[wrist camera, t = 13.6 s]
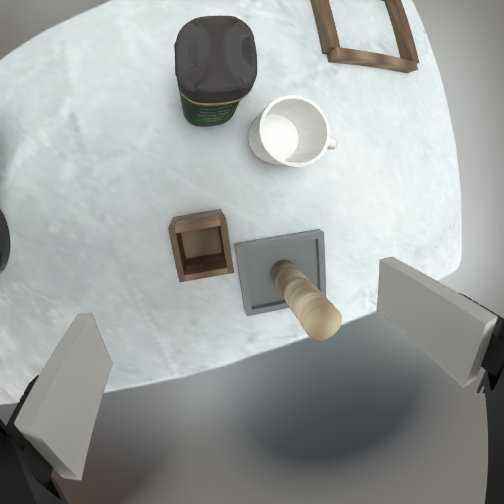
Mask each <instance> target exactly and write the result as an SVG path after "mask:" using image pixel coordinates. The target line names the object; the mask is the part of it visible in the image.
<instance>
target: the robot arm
mask: <svg viewBox="0 0 504 504" xmlns="http://www.w3.org/2000/svg"><path fill="white" fill-rule="evenodd" d="M9 251H10V238H9V231H8V227H7V223H6V220H5V218H4V216H3V214H2V212H1V210H0V272H1V271H2V270H3V269H4V267H5V265H6V263H7V261H8V257H9ZM377 311H378V312H379V313H380V314H381V315H383V316H384V317H385V318H386V319H387V320H388V321H389V322H391V323H392V324H393V325H394V326H395V327H396V328H398V329H399V330H400V331H401V332H402V333H404V334H405V335H406V336H407V337H408V338H409V339H410V340H412V342H414V343H415V344H416V345H417V346H418V347H419V348H420V349H422V350H423V351H424V352H425V353H426V354H427V355H428V356H429V357H431V358H432V359H433V360H434V361H435V362H436V363H437V364H438V365H439V366H441V367H442V368H443V369H444V370H445V371H446V372H447V373H448V374H449V375H450V376H451V377H453V378H454V379H455V380H456V381H457V382H458V383H459V384H460V385H461V386H462V387H465V386H466V385H468V384H470V383H471V382H472V381H474V380H475V379H476V377H477V375H478V372H479V370H480V368H481V367H483V368H484V369H485V373H484V375H483V378H482V380H481V382H480V385H479V387H478V389H477V393H479V392H480V390H481V388H482V386H484V390H483V393H485V397H486V407H487V421H488V475H487V489H486V499H485V504H504V319H503V318H502V317H500V316H498V315H497V314H495V313H493V312H492V311H490V310H489V309H487V308H485V307H484V306H482V305H479V304H478V303H477V302H475V301H472V299H470V298H469V297H467V296H465V295H463V294H460V293H457V292H456V291H454V290H452V289H450V288H449V287H447V286H445V285H443V284H441V283H440V282H438V281H436V280H435V279H433V278H431V277H429V276H427V275H425V274H424V273H422V272H420V271H418V270H416V269H414V268H413V267H411V266H409V265H407V264H405V263H403V262H401V261H399V260H397V259H396V258H394V257H388V258H384V259H380V261H379V285H378V300H377ZM112 364H113V363H112V360H111V358H110V356H109V354H108V351H107V349H106V347H105V344H104V342H103V340H102V337H101V335H100V332H99V330H98V327H97V324H96V322H95V319H94V317H93V314H92V313H86V314H78V315H77V316H76V318H75V319H74V321H73V322H72V324H71V325H70V327H69V328H68V330H67V331H66V333H65V334H64V336H63V337H62V339H61V341H60V342H59V344H58V345H57V347H56V348H55V350H54V352H53V353H52V355H51V357H50V358H49V360H48V362H47V363H46V365H45V367H44V368H43V370H42V372H41V373H40V375H37V376H36V377H35V378H34V379H33V380H32V381H31V382H30V383H29V385H28V386H27V388H26V390H25V392H24V395H22V397H21V399H20V402H19V403H18V404H17V406H16V408H15V410H14V412H13V414H12V416H11V418H10V420H9V422H8V424H7V426H6V425H5V424H4V423H3V422H2V420H1V419H0V504H69V503H68V501H67V499H66V498H65V496H64V494H63V492H62V491H61V489H60V487H59V485H58V483H57V482H56V480H55V479H54V478H53V477H52V476H51V474H52V470H53V469H55V470H56V471H57V472H58V473H59V474H60V475H61V476H62V477H63V478H69V479H75V480H81V477H82V473H83V468H84V464H85V459H86V454H87V451H88V447H89V442H90V438H91V435H92V431H93V427H94V423H95V419H96V416H97V412H98V409H99V405H100V402H101V399H102V395H103V392H104V389H105V386H106V382H107V379H108V376H109V373H110V370H111V367H112Z"/></svg>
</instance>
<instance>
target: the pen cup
mask: <svg viewBox="0 0 504 504" xmlns="http://www.w3.org/2000/svg"><path fill="white" fill-rule="evenodd" d="M168 229H169V234H170V239H171V244H172V249H173V254H174V259H175V264H176V268H177V273H178V277H179V282H184V281H189V280H195V279H201V278H207V277H212V276H218V275H224V274H229V273H234V269H233V263H232V256H231V250H230V243H229V236H228V230H227V223H226V218H225V216H224V214H223V212H222V211H221V209H219V210H213V211H207V212H201V213H195V214H190V215H184V216H178V217H173V219H172V221H171V224H170V226H169V228H168Z"/></svg>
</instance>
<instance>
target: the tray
mask: <svg viewBox="0 0 504 504" xmlns="http://www.w3.org/2000/svg"><path fill="white" fill-rule="evenodd" d="M235 247H236V254H237V261H238V268H239V274H240V281H241V288H242V294H243V301H244V307H245V312H246V315H247V316H251V315H256V314H261V313H266V312H270V311H275V310H280V309H284V308H289V306H288V304H287V303H286V301H285V300H284V298H283V297H282V295H281V294H280V292H279V291H278V289H277V287H276V286H275V284H274V283H273V281H272V280H271V278H270V269H271V267H272V266H273V264H274V263H276V262H277V261H279V260H289V261H291V262H292V263H293V264H294V265H295V266H296V267H297V268H298V269H299V270H300V271H301V272H302V273H303V274H304V275H305V276H306V277H307V278H308V279H309V280H310V281H311V283H312V284H313V285H314V286H315V287H316V288H317V289H318V290H319V291H320V292H321V293H322V294H323V295H324V296H325V297H326V274H325V248H324V232H323V231H321V230H319V229H318V230H312V231H306V232H300V233H294V234H288V235H282V236H276V237H270V238H264V239H258V240H252V241H246V242H240V243H235Z"/></svg>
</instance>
